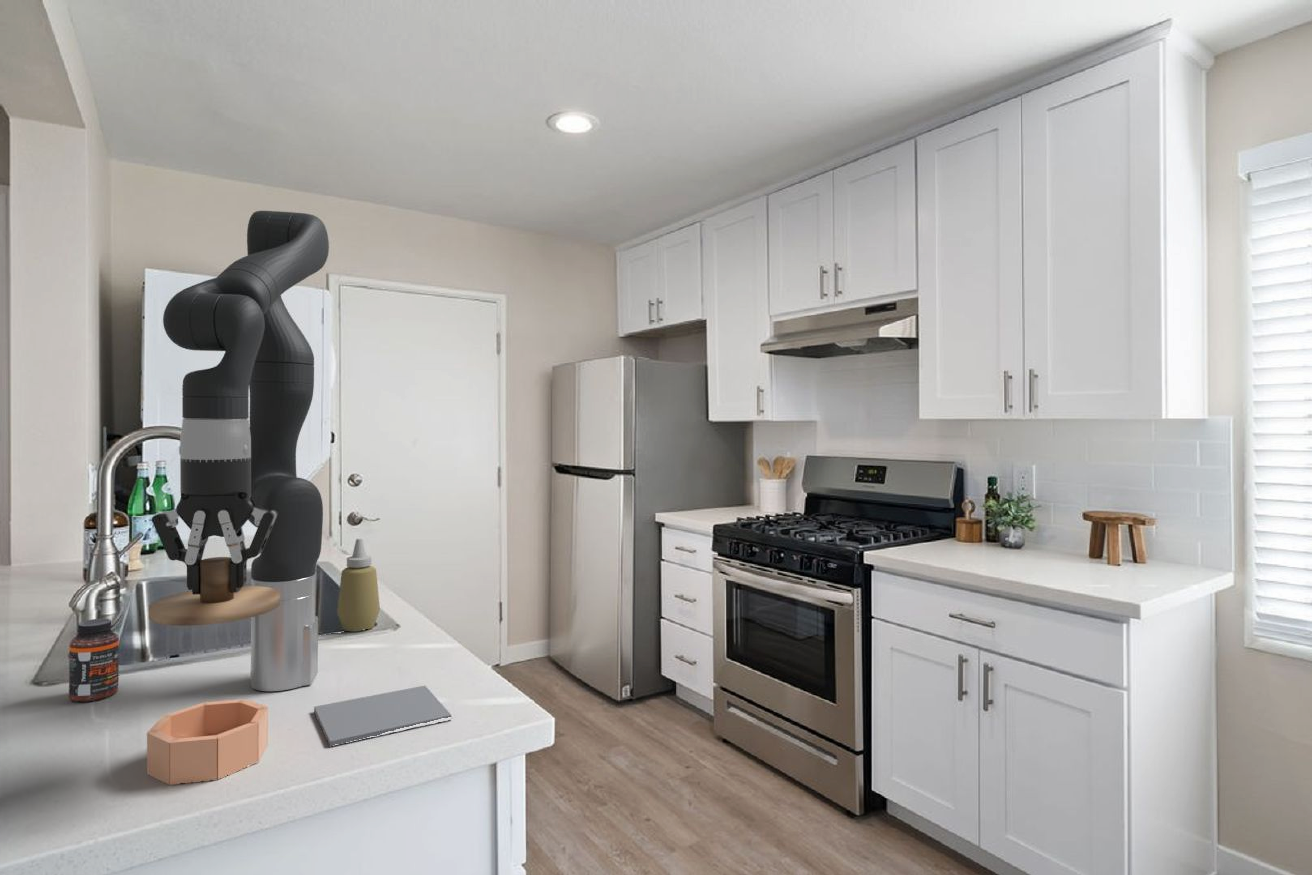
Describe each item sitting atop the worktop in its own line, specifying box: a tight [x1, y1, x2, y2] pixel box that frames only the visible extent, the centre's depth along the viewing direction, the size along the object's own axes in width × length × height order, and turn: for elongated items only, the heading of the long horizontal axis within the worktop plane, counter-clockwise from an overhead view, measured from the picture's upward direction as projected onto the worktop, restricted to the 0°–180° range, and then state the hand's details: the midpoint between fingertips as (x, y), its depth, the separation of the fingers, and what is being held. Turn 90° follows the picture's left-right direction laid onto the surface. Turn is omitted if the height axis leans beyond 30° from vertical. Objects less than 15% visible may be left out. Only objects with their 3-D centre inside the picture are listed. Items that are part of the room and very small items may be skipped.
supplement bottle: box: [68, 618, 120, 703], centre depth 109 cm, size 6×6×11 cm
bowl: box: [146, 698, 269, 786], centre depth 90 cm, size 12×12×5 cm
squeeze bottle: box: [336, 538, 381, 632], centre depth 145 cm, size 8×8×18 cm
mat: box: [313, 685, 452, 747], centre depth 104 cm, size 16×13×1 cm
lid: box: [148, 556, 280, 627], centre depth 90 cm, size 14×14×6 cm
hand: (217, 591), depth 90 cm, fingers closed on lid, 3 cm apart
